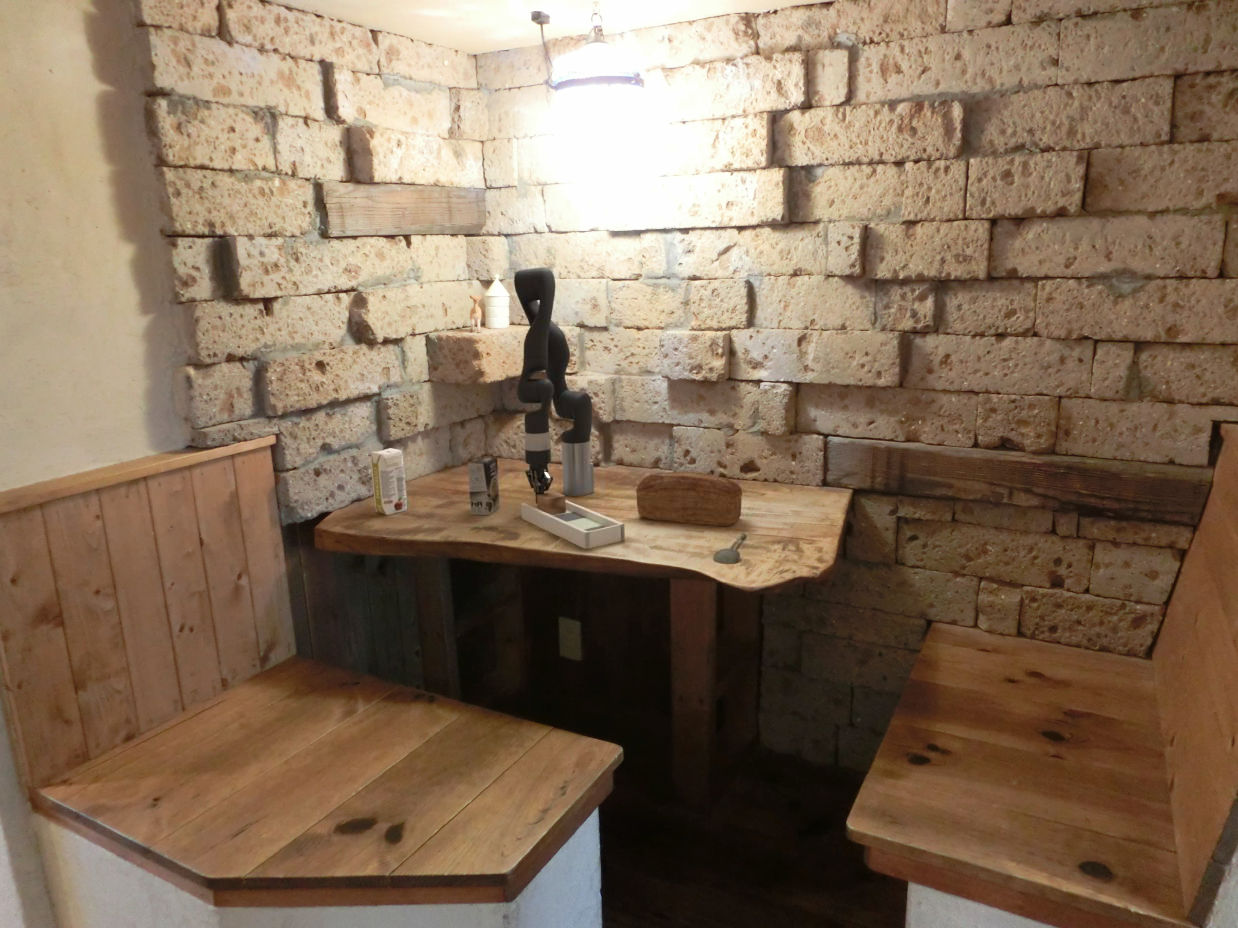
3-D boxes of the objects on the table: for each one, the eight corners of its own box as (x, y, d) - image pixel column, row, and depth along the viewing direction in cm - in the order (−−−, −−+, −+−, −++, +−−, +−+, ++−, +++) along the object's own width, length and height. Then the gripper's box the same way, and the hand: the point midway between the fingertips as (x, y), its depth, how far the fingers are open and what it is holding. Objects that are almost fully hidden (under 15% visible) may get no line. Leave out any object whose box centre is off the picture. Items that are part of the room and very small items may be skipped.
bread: (735, 530, 235) (736, 483, 232) (632, 520, 247) (631, 475, 243) (746, 518, 246) (746, 473, 243) (646, 508, 258) (645, 465, 254)
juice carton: (410, 510, 261) (405, 450, 256) (386, 516, 255) (380, 455, 250) (396, 506, 266) (391, 446, 261) (372, 512, 260) (366, 451, 255)
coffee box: (490, 515, 254) (487, 463, 250) (470, 514, 255) (466, 462, 251) (500, 507, 262) (498, 456, 258) (481, 506, 263) (477, 455, 260)
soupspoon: (709, 566, 211) (735, 571, 208) (710, 554, 210) (736, 558, 207) (732, 536, 230) (756, 540, 228) (732, 525, 229) (756, 528, 227)
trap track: (557, 510, 257) (557, 496, 256) (624, 539, 229) (624, 523, 228) (521, 518, 250) (521, 503, 249) (586, 549, 222) (585, 532, 221)
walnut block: (555, 507, 251) (554, 491, 250) (565, 512, 246) (565, 495, 245) (537, 511, 248) (536, 494, 247) (547, 516, 243) (547, 499, 242)
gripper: (560, 448, 245) (562, 506, 249) (538, 441, 255) (540, 497, 259) (537, 452, 241) (540, 511, 245) (515, 445, 251) (518, 501, 255)
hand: (540, 503), depth 252 cm, fingers closed
